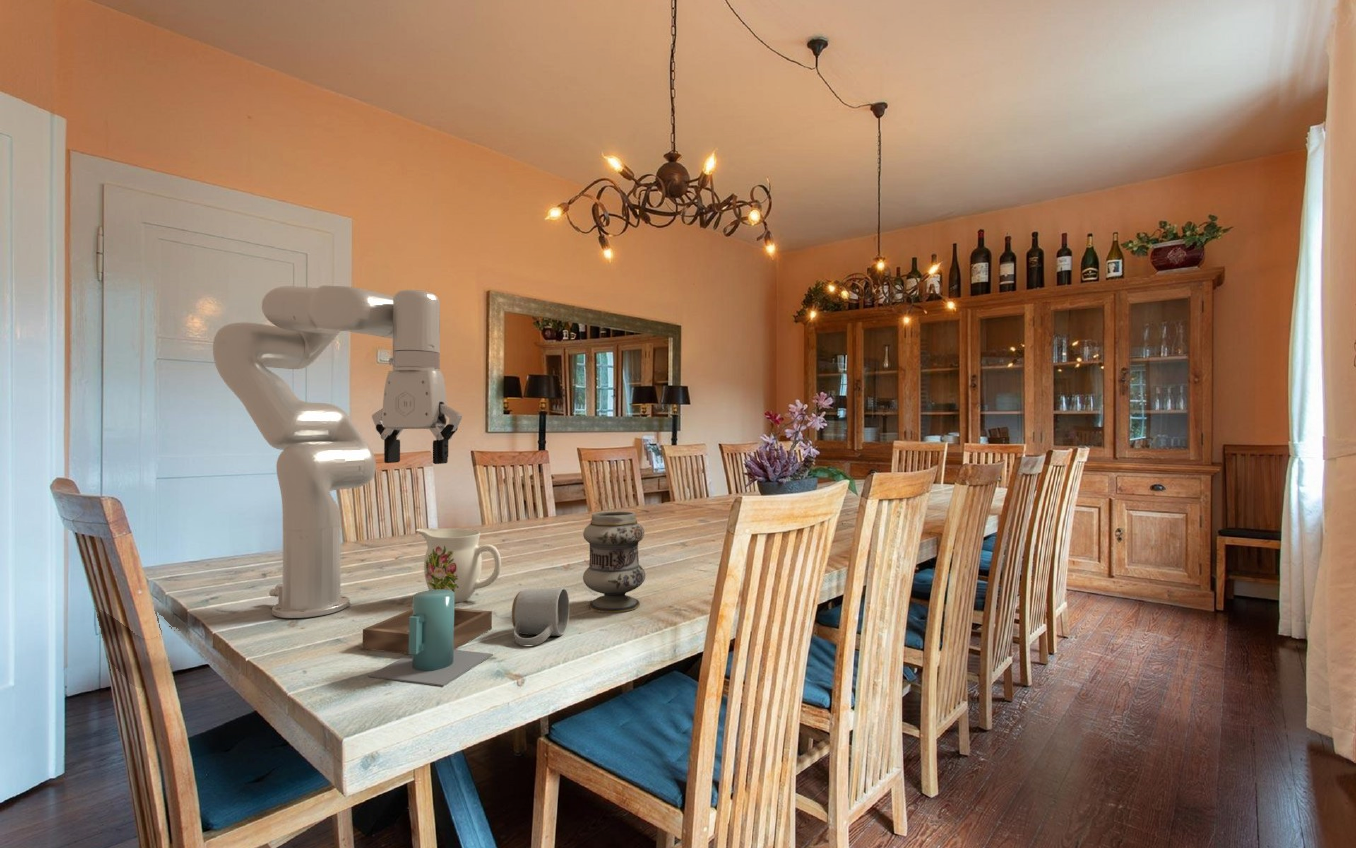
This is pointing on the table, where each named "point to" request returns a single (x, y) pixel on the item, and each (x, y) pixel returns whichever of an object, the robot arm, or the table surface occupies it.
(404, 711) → the table surface
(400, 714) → the table surface
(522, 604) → the ceramic mug
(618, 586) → the apothecary jar
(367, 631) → the wooden tray
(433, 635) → the teal jug
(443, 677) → the slate mat
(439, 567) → the pitcher
